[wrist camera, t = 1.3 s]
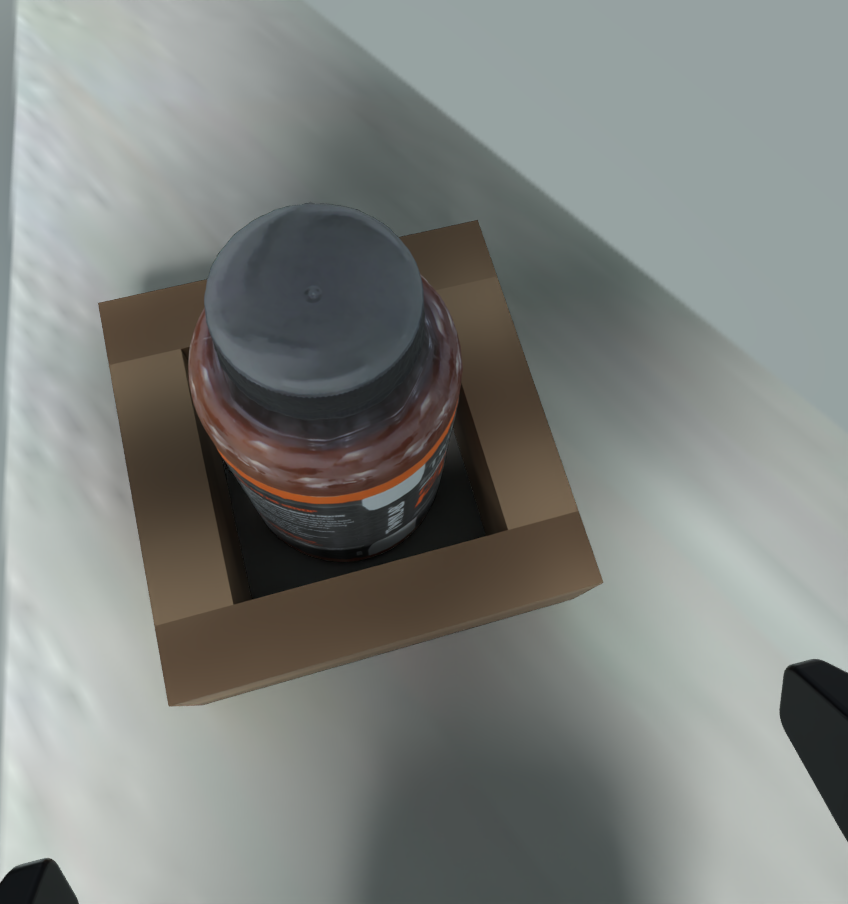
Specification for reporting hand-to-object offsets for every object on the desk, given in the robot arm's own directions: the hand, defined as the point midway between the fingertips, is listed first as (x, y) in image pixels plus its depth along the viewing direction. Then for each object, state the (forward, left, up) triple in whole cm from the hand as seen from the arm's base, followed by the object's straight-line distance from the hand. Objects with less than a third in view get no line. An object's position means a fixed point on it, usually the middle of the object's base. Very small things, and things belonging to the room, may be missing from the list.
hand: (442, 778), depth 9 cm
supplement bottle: (+8, 0, -14) cm, 16 cm away
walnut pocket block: (+8, 0, -14) cm, 16 cm away
